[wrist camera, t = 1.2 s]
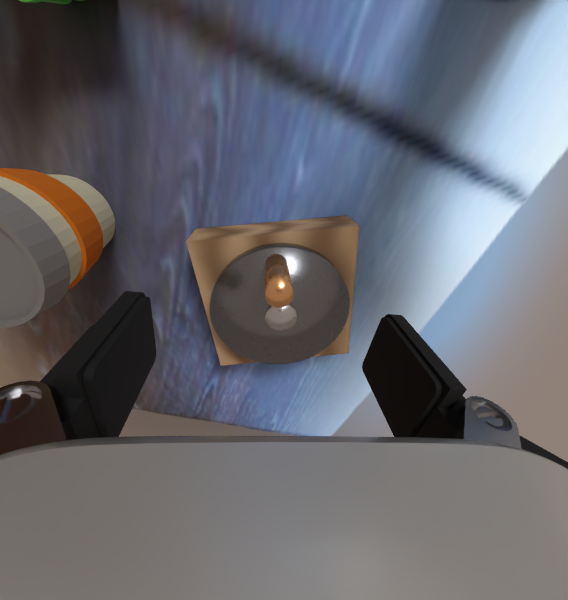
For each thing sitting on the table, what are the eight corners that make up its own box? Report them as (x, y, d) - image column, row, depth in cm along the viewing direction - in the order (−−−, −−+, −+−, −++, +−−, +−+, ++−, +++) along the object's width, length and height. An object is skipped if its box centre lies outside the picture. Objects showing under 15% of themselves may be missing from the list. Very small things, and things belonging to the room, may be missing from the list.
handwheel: (350, 236, 30) (378, 267, 23) (342, 350, 40) (360, 397, 32) (196, 250, 30) (174, 286, 22) (225, 361, 39) (217, 412, 32)
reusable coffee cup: (135, 268, 36) (65, 338, 23) (33, 253, 34) (-104, 322, 21) (124, 169, 30) (20, 192, 17) (-2, 144, 28) (-228, 149, 15)
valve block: (347, 215, 34) (359, 226, 30) (340, 332, 45) (348, 353, 40) (195, 228, 34) (186, 241, 29) (225, 344, 44) (220, 365, 40)
